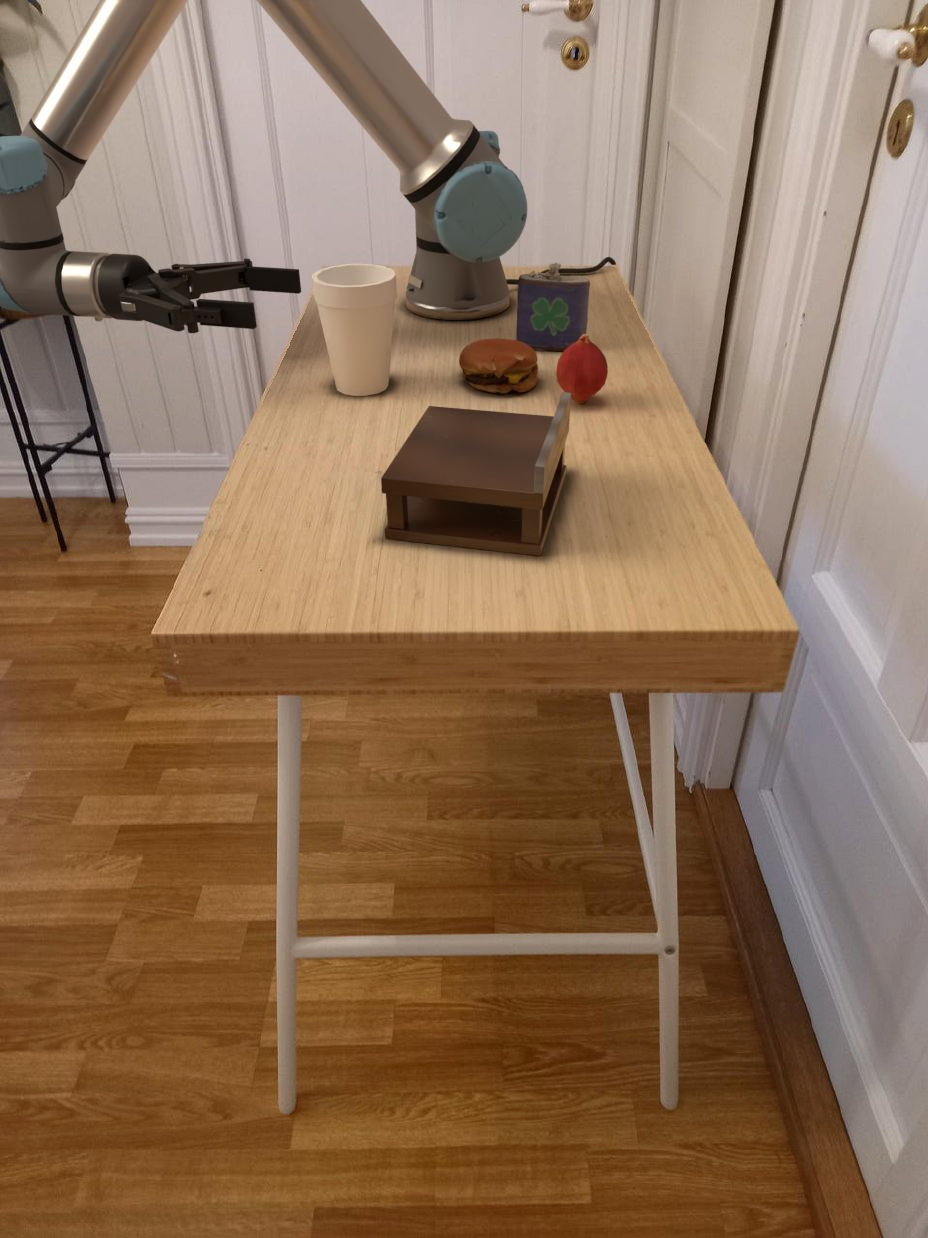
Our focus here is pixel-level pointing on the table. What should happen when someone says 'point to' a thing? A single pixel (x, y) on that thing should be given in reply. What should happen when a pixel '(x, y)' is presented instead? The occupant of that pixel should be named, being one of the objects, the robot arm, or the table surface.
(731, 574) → the table surface
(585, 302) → the flask
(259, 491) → the table surface
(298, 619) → the table surface
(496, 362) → the burger
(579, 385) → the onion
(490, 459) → the shelf
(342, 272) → the foam cup
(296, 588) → the table surface
